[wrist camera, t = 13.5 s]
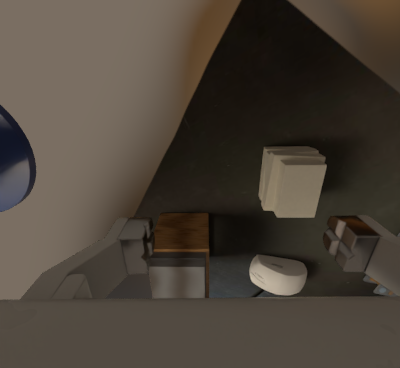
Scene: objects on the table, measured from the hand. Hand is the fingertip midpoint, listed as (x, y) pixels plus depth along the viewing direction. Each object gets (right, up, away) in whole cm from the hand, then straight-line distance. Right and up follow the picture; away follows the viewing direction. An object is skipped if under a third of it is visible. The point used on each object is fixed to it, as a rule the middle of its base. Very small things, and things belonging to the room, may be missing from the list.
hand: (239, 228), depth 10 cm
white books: (+14, +4, +30) cm, 33 cm away
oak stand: (-5, -9, +37) cm, 38 cm away
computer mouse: (+16, -17, +40) cm, 47 cm away
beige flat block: (+14, +2, +25) cm, 28 cm away
